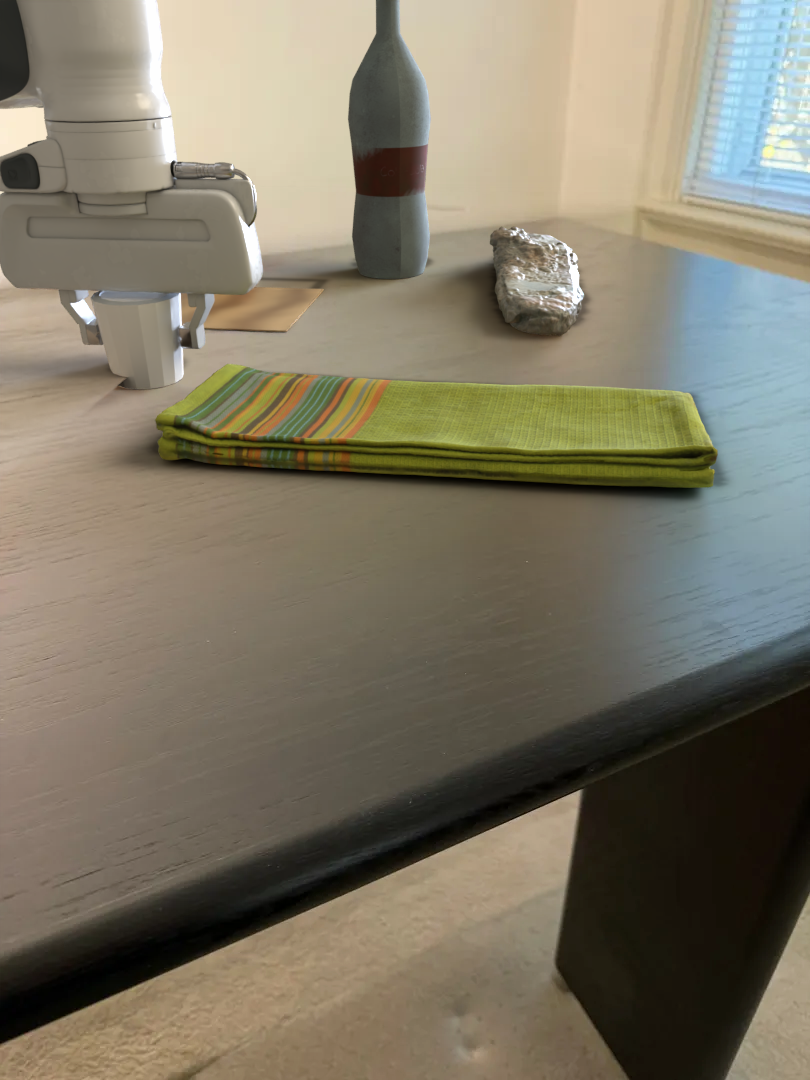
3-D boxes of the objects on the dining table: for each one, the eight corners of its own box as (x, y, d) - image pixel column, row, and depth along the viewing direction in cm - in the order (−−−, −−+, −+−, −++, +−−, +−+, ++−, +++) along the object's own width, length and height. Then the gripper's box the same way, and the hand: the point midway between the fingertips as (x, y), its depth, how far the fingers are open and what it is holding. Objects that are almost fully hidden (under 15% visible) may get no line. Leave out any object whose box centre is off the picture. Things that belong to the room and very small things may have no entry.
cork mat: (107, 325, 87) (107, 324, 87) (168, 285, 100) (168, 284, 100) (286, 332, 84) (286, 330, 84) (323, 290, 98) (323, 288, 98)
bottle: (356, 262, 110) (347, -24, 95) (430, 262, 110) (432, -25, 95) (349, 280, 102) (338, -29, 87) (429, 280, 102) (431, -30, 87)
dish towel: (229, 386, 71) (224, 346, 70) (686, 407, 67) (693, 366, 65) (153, 465, 58) (145, 419, 57) (716, 500, 53) (725, 451, 52)
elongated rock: (484, 351, 83) (591, 359, 82) (489, 295, 80) (600, 303, 80) (487, 250, 112) (566, 256, 112) (491, 207, 109) (572, 212, 109)
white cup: (127, 398, 69) (112, 308, 66) (92, 375, 74) (76, 291, 70) (206, 379, 73) (195, 293, 69) (168, 358, 78) (156, 277, 74)
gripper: (265, 157, 67) (279, 338, 73) (10, 154, 69) (47, 329, 76) (239, 168, 61) (257, 362, 68) (-36, 165, 64) (8, 352, 71)
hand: (144, 345), depth 72 cm, fingers open, 7 cm apart
